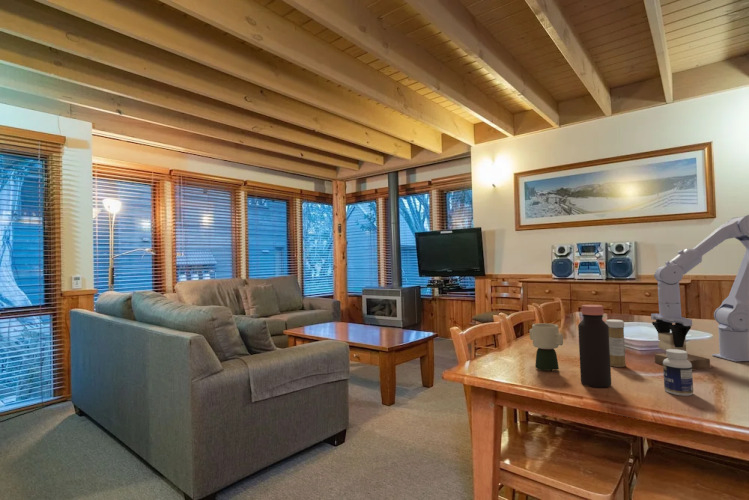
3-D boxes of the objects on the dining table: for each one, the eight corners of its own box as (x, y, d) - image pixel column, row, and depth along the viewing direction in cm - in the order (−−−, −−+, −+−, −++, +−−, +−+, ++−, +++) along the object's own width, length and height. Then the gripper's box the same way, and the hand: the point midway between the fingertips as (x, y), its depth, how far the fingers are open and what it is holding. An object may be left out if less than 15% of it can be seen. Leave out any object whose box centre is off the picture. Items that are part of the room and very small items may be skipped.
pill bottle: (658, 389, 94) (656, 348, 94) (679, 388, 95) (677, 347, 95) (677, 397, 89) (675, 354, 89) (699, 395, 89) (697, 352, 89)
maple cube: (673, 347, 128) (672, 332, 128) (686, 351, 123) (685, 335, 123) (658, 348, 128) (657, 333, 128) (670, 351, 123) (669, 335, 123)
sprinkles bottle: (611, 362, 119) (609, 318, 119) (628, 365, 115) (626, 320, 116) (605, 365, 116) (603, 320, 116) (622, 368, 112) (620, 321, 113)
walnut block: (679, 361, 119) (679, 351, 119) (710, 369, 110) (709, 358, 111) (655, 364, 118) (654, 354, 118) (684, 372, 109) (683, 361, 109)
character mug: (572, 372, 110) (570, 326, 111) (555, 376, 107) (553, 328, 107) (539, 364, 120) (537, 321, 120) (523, 367, 116) (521, 324, 117)
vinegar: (614, 383, 99) (610, 305, 100) (606, 390, 94) (602, 307, 95) (585, 378, 104) (582, 303, 105) (577, 384, 99) (573, 306, 100)
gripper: (641, 301, 133) (643, 341, 132) (675, 305, 118) (677, 350, 118) (661, 300, 133) (664, 340, 133) (697, 304, 119) (700, 349, 118)
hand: (672, 345), depth 125 cm, fingers closed on maple cube, 5 cm apart
